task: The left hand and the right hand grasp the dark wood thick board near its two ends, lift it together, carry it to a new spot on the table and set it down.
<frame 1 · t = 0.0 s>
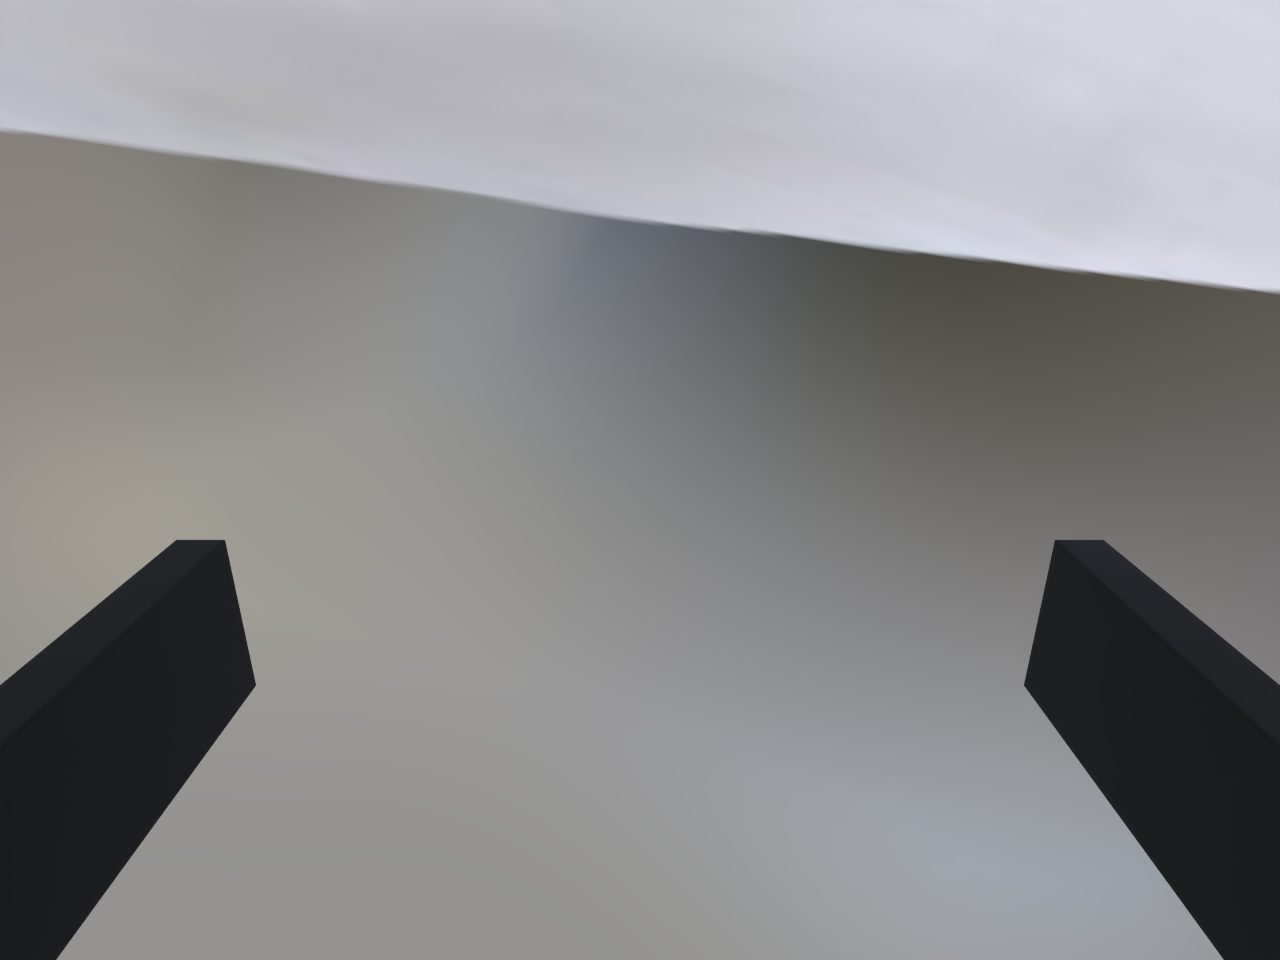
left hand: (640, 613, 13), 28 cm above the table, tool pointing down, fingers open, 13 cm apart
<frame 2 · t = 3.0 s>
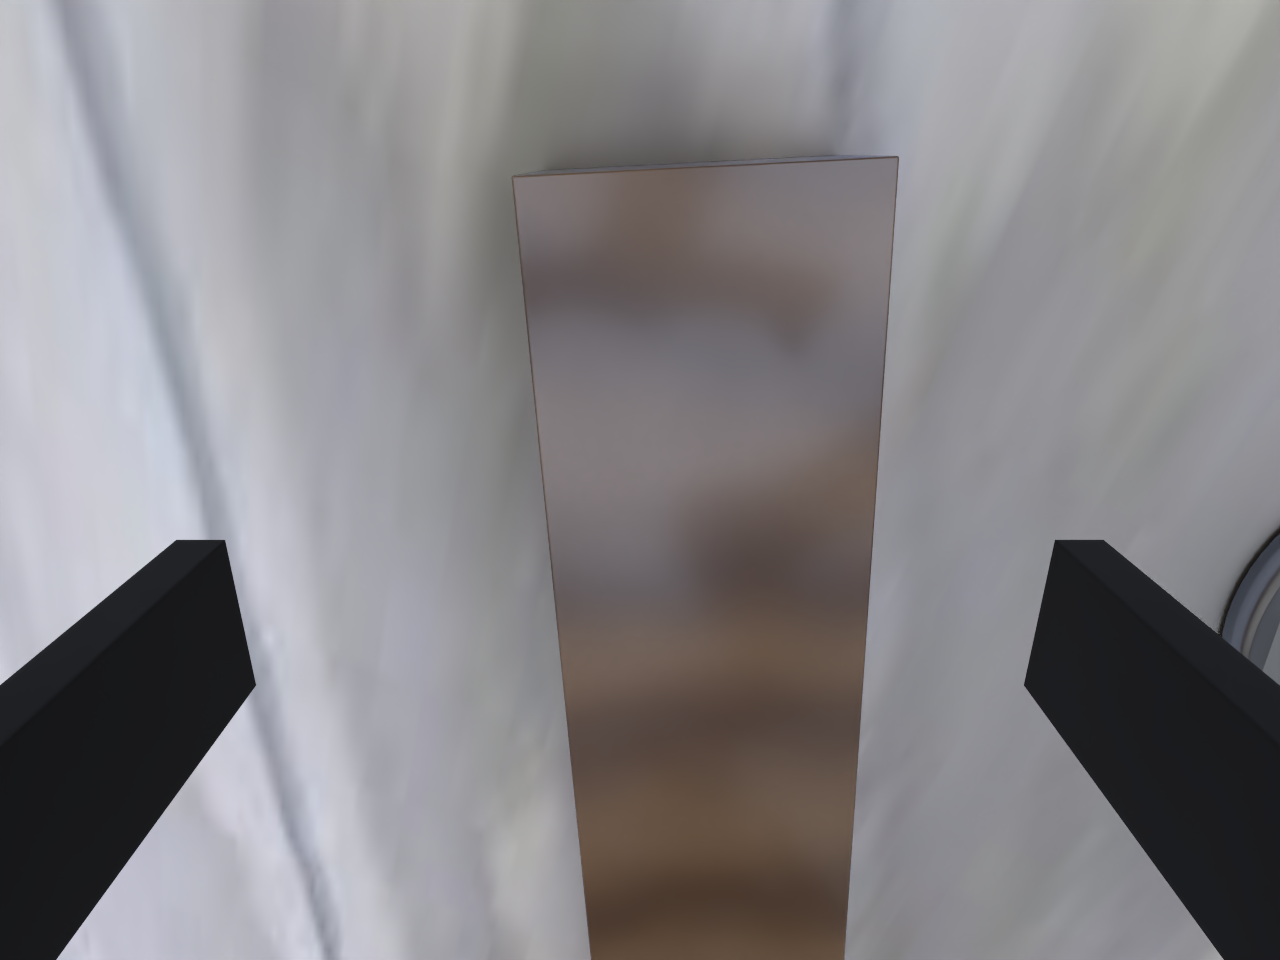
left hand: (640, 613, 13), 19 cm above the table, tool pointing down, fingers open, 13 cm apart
thick board: (703, 773, 38), on the table
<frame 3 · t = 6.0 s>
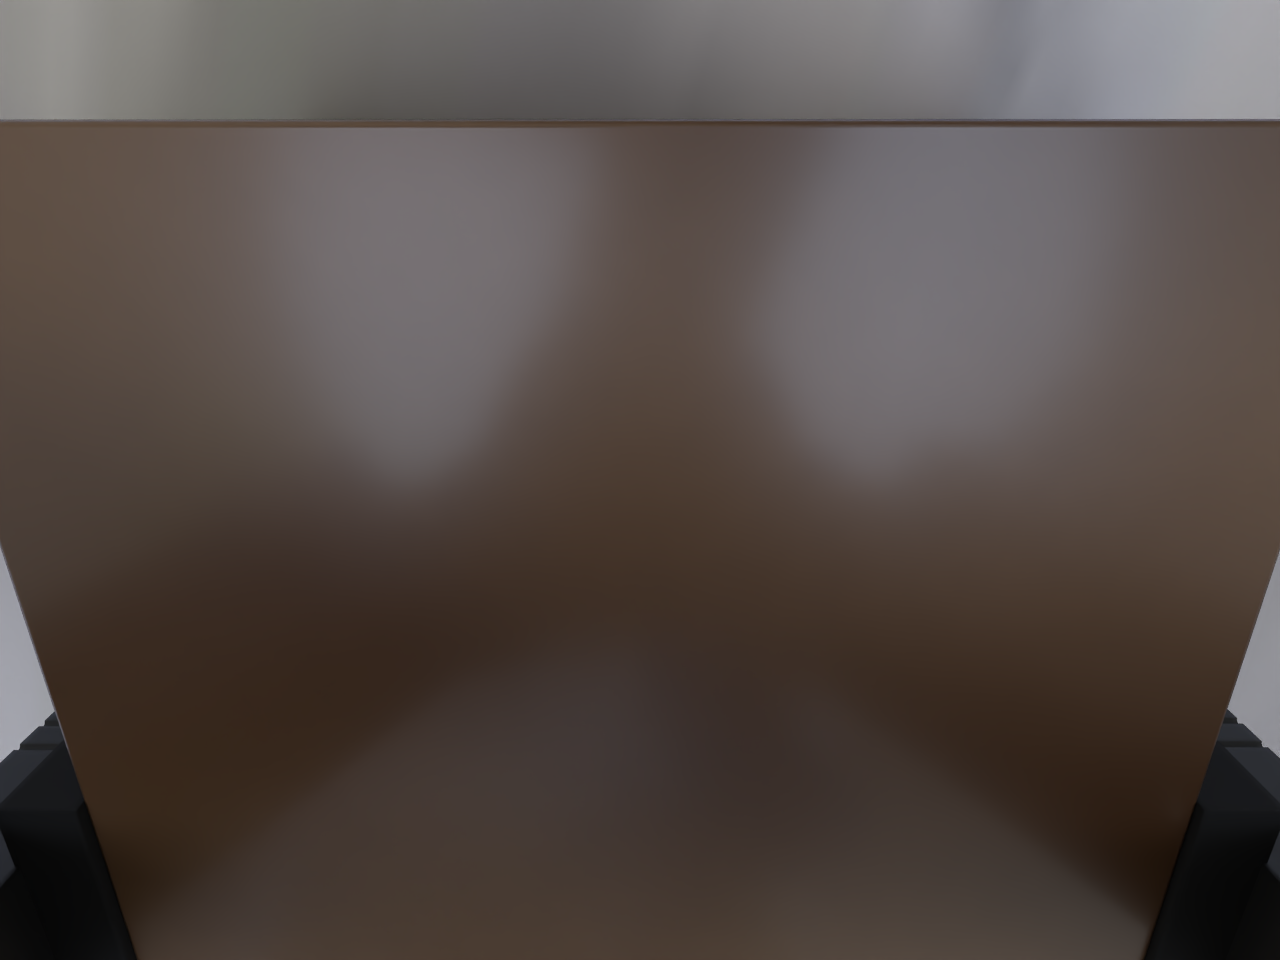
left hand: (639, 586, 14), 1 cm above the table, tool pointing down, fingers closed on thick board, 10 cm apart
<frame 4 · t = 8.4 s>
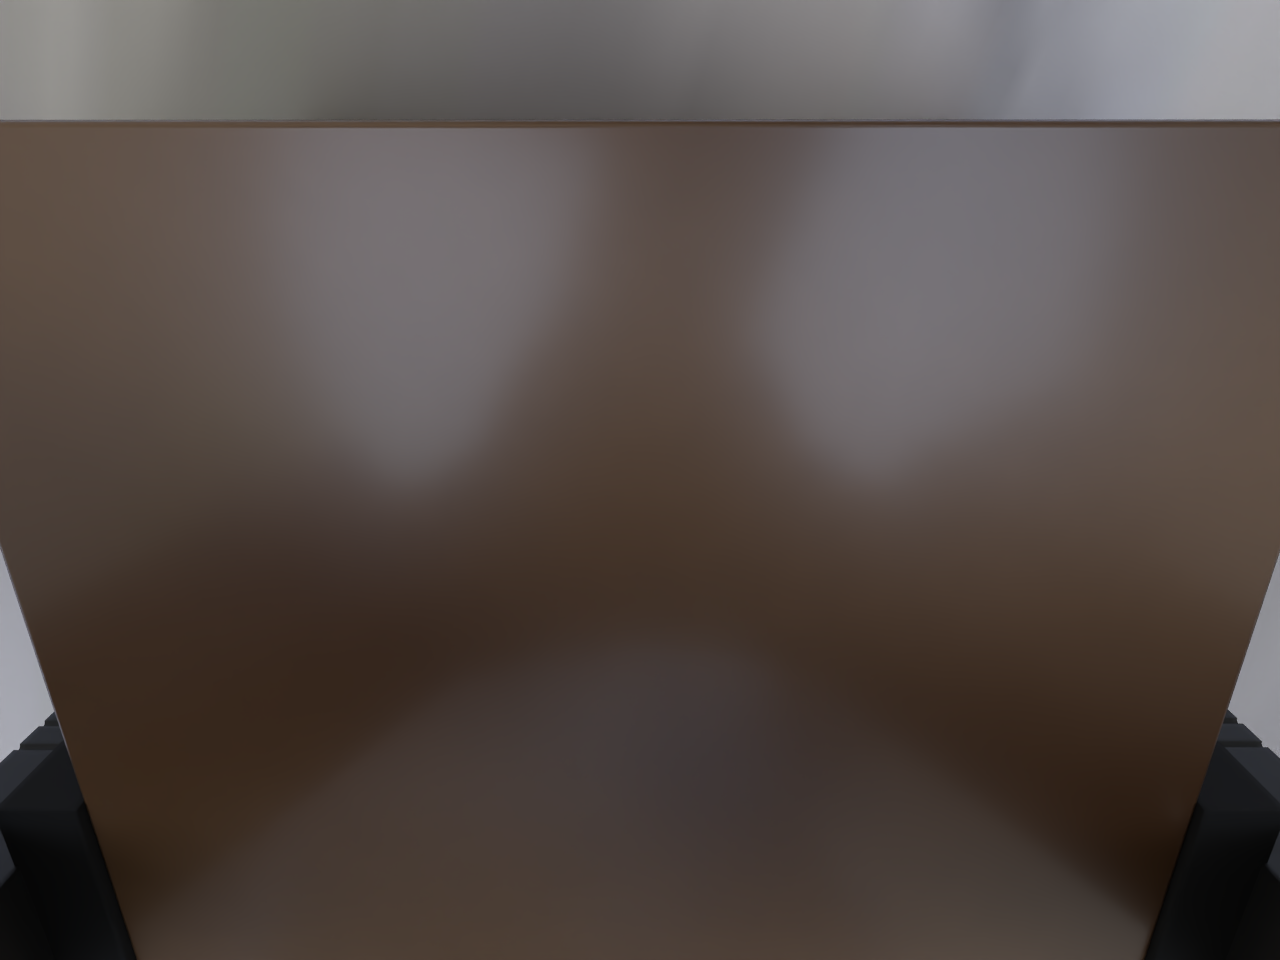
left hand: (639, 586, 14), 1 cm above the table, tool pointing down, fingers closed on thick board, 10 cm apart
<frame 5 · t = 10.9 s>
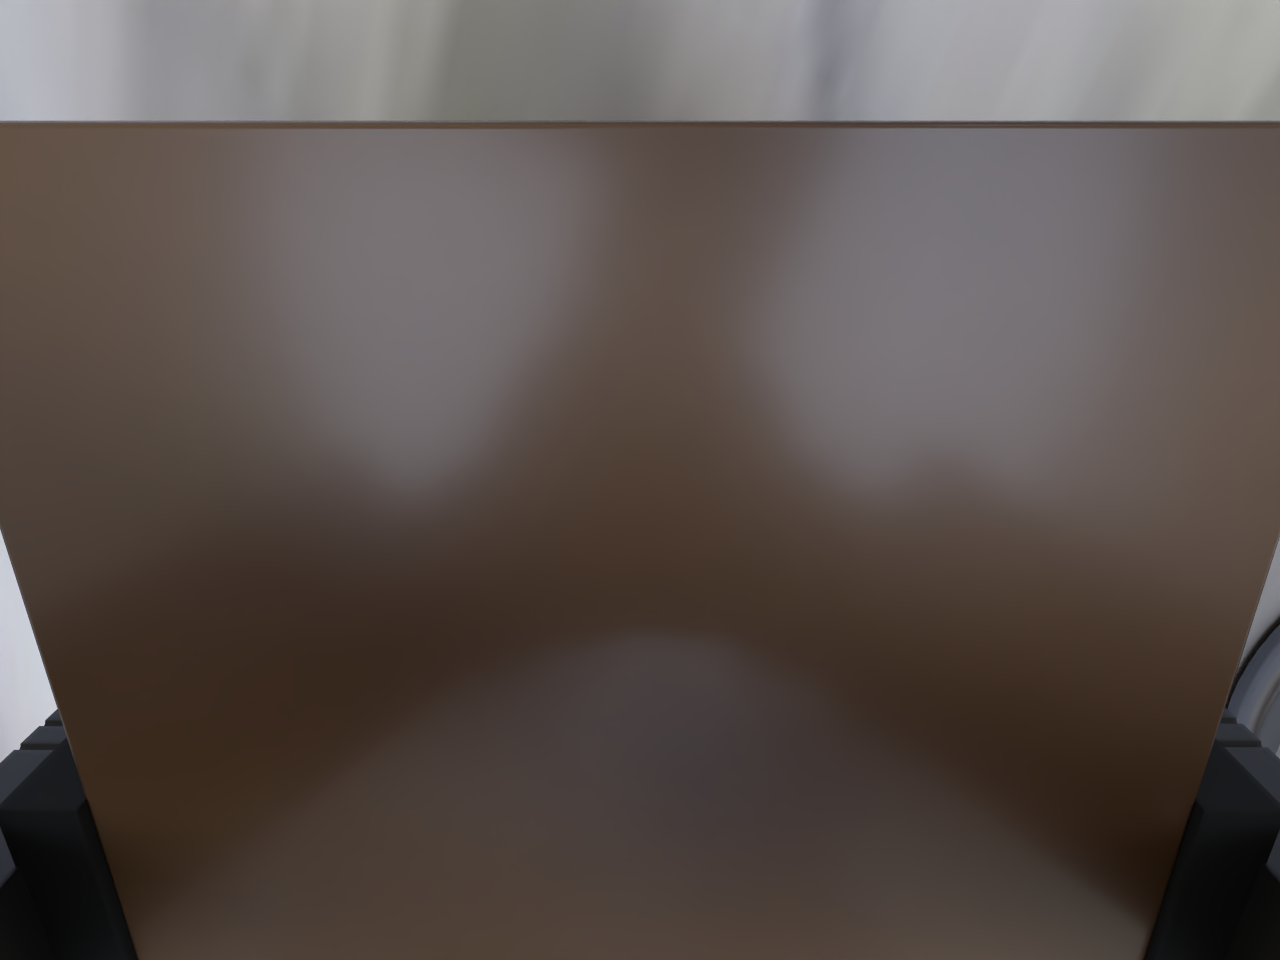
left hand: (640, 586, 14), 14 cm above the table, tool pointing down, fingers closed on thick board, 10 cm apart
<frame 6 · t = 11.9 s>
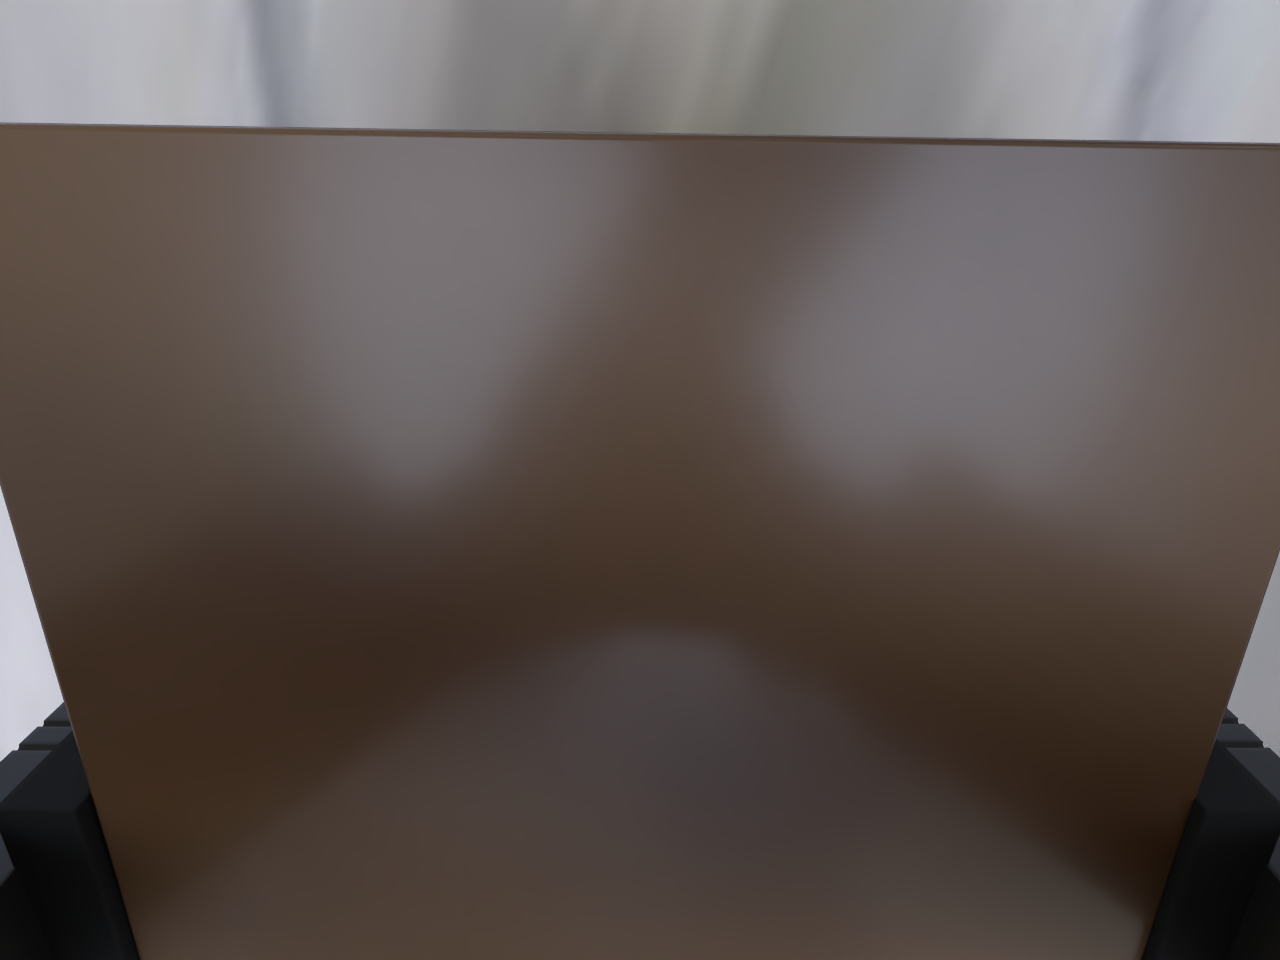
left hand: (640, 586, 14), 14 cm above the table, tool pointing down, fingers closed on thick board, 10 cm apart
when the right hand's fingers open (2 cm above the table, at t = 15.7 s): thick board drops 1 cm, on the table.
when the left hand's fingers open (2 cm above the table, at t = 15.8 s): thick board drops 1 cm, on the table.
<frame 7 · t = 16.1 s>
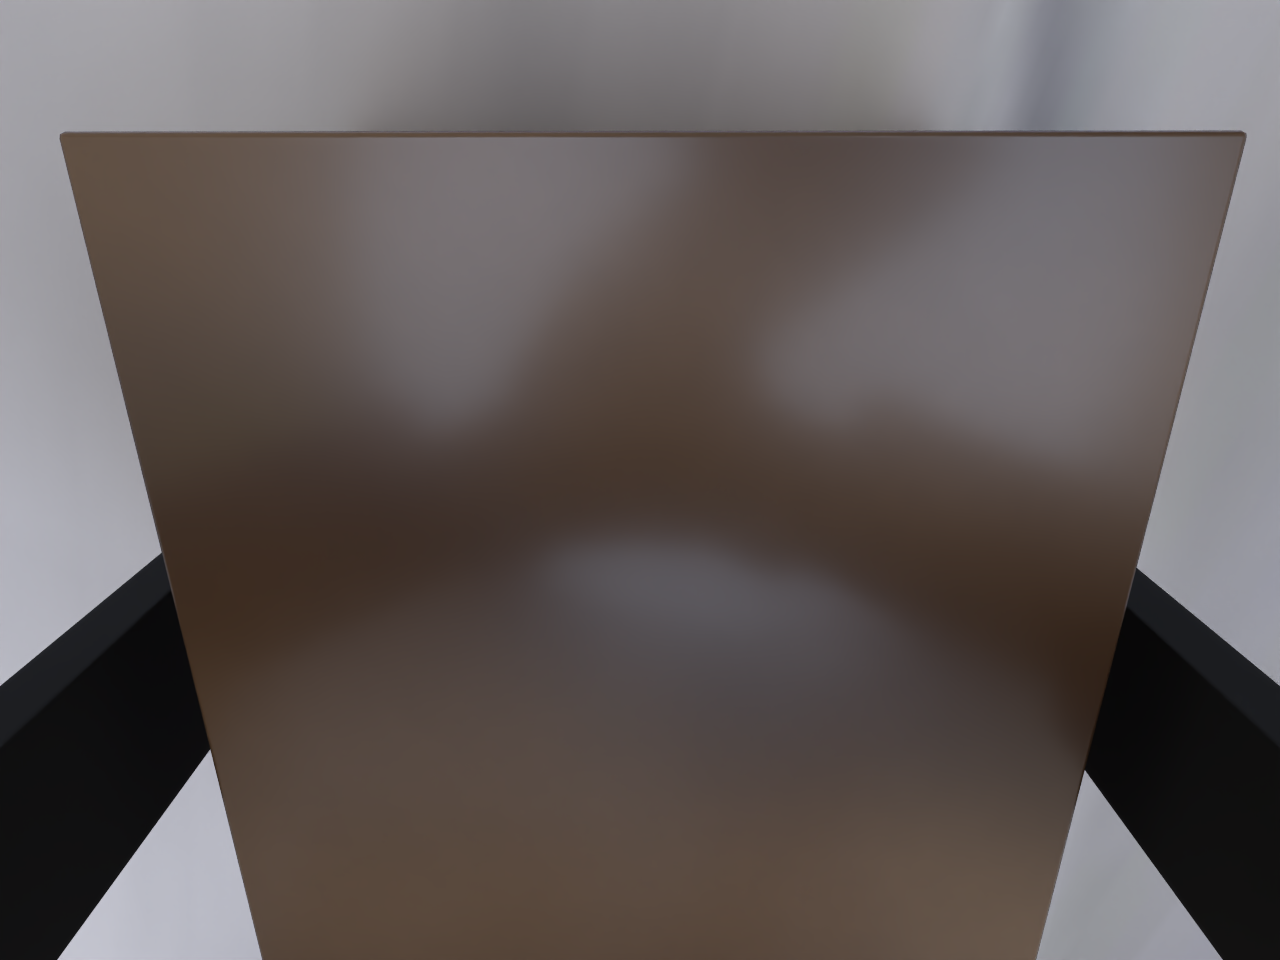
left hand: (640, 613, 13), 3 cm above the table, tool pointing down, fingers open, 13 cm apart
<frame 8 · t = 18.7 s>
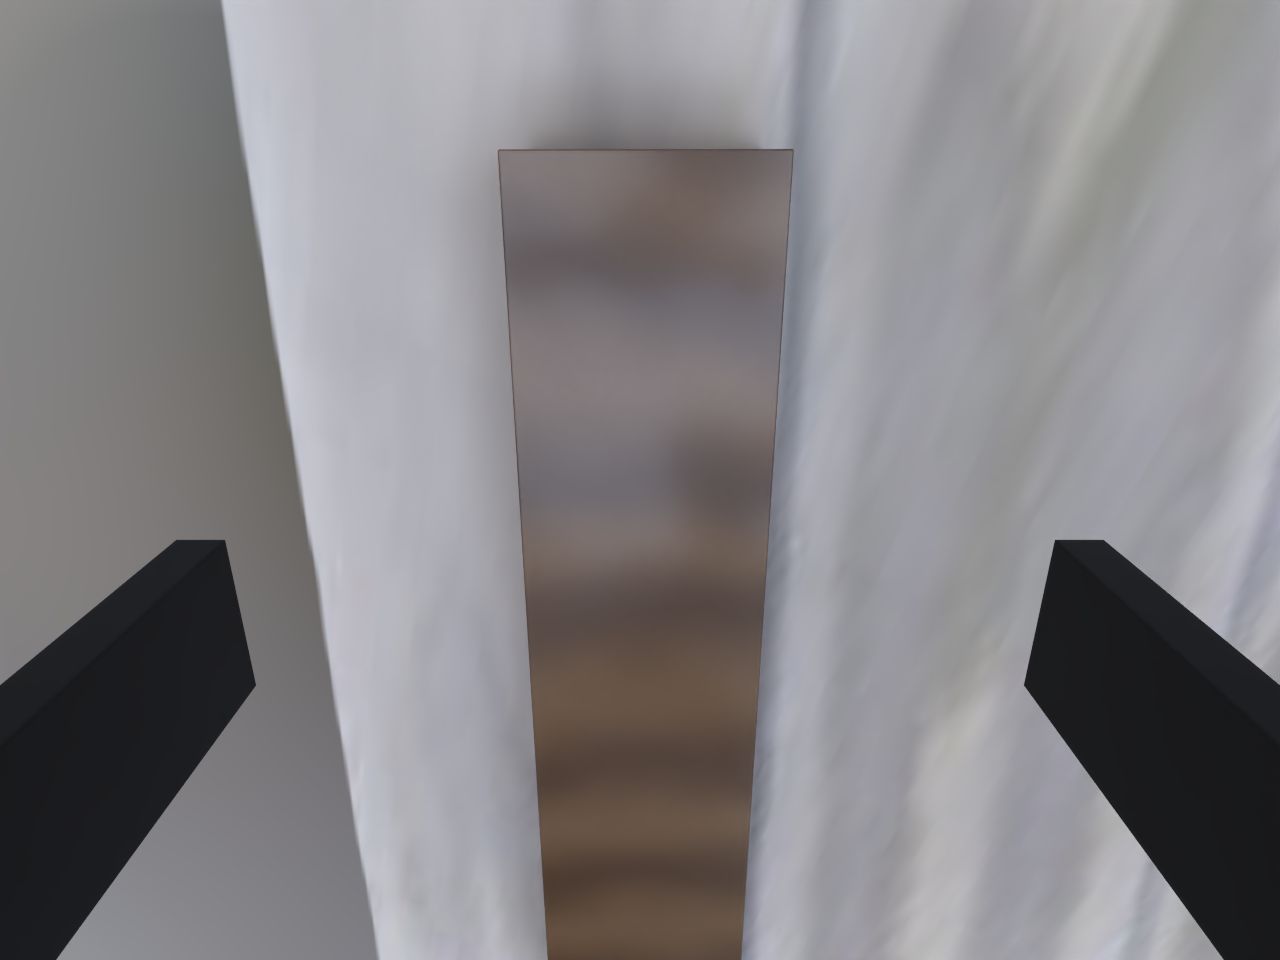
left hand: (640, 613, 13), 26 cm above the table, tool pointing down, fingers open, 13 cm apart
thick board: (644, 676, 44), on the table
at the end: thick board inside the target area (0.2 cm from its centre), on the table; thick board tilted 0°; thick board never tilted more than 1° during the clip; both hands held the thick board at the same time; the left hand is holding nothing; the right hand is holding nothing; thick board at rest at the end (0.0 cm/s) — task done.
